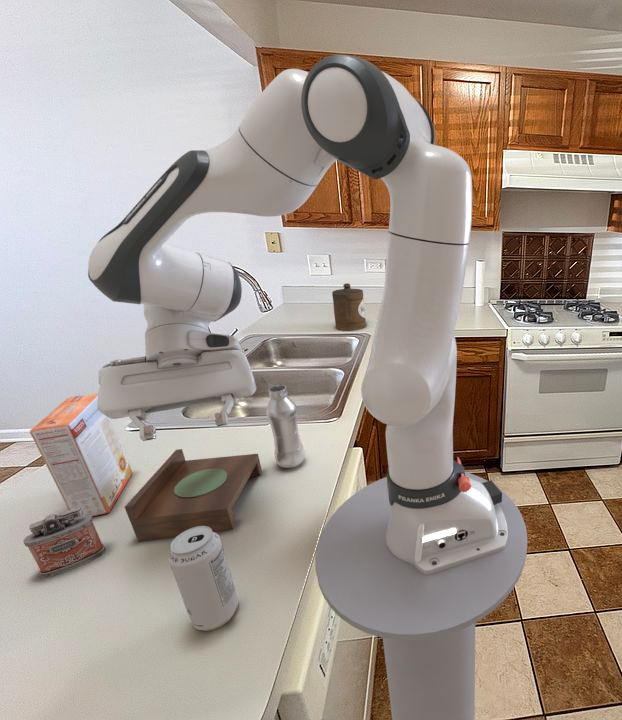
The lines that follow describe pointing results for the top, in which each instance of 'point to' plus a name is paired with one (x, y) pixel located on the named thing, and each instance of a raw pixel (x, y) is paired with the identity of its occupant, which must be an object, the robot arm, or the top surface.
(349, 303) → the wooden container
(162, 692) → the top surface
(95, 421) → the cracker box
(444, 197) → the robot arm
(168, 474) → the shelf
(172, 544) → the energy drink can
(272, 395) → the silver metal bottle
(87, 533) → the lighter
